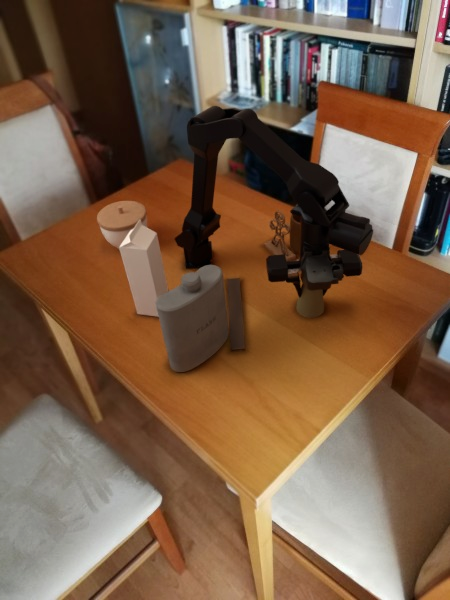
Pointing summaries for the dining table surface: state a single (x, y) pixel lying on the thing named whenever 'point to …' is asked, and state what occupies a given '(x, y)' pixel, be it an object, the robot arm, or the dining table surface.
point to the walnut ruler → (235, 315)
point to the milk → (144, 268)
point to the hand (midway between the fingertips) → (311, 295)
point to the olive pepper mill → (310, 301)
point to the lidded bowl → (120, 220)
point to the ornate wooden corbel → (276, 245)
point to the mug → (295, 233)
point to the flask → (194, 318)
